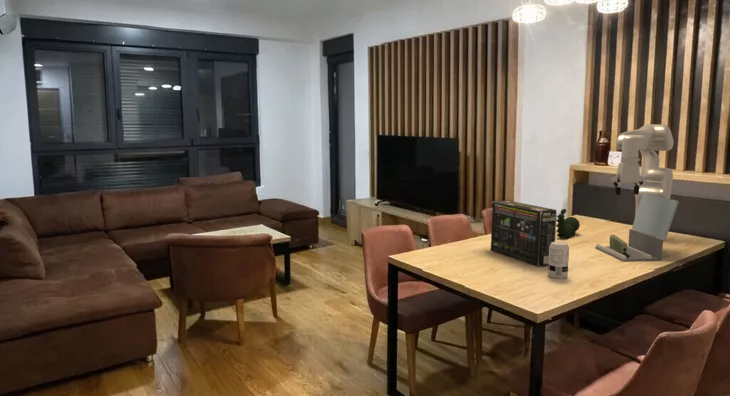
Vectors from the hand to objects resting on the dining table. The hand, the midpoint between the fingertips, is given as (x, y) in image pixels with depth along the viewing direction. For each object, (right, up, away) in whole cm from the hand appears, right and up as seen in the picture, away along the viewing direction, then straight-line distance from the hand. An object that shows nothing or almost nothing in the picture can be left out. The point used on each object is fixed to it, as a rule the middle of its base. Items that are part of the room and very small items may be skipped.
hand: (626, 194), depth 258 cm
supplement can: (-47, -37, -32) cm, 68 cm away
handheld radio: (-1, -30, +5) cm, 30 cm away
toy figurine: (-12, -25, +45) cm, 53 cm away
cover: (+15, -11, +3) cm, 18 cm away
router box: (-54, -32, 0) cm, 63 cm away
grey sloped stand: (+2, -31, +5) cm, 31 cm away
